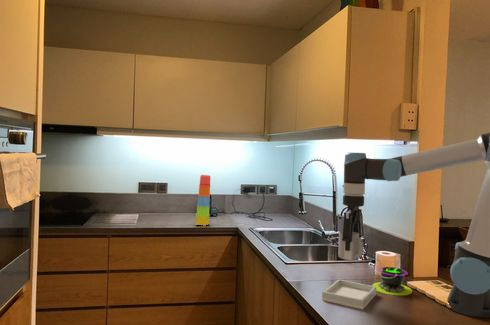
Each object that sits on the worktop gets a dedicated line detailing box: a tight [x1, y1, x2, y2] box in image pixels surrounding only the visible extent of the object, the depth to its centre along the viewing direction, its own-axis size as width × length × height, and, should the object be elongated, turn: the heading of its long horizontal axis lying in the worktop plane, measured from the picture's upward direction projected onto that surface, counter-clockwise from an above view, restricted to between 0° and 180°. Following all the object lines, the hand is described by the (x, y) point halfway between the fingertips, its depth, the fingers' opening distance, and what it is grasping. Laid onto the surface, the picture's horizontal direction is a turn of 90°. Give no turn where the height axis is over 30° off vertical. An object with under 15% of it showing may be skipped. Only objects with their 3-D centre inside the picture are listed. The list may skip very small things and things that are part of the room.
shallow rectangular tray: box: [321, 278, 377, 310], centre depth 151 cm, size 15×18×3 cm
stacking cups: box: [195, 174, 211, 225], centre depth 281 cm, size 10×10×35 cm
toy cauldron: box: [371, 260, 413, 296], centre depth 162 cm, size 15×15×11 cm
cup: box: [337, 230, 364, 261], centre depth 150 cm, size 7×10×9 cm
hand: (351, 256), depth 150 cm, fingers closed on cup, 7 cm apart
